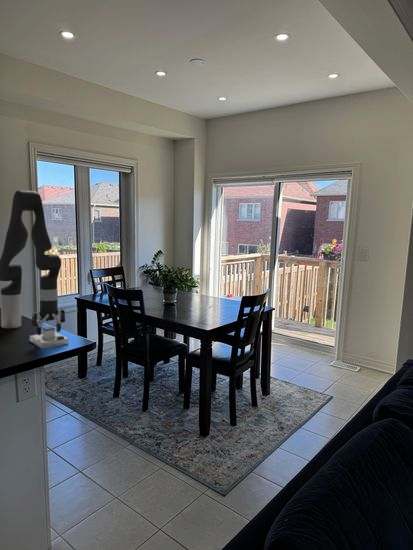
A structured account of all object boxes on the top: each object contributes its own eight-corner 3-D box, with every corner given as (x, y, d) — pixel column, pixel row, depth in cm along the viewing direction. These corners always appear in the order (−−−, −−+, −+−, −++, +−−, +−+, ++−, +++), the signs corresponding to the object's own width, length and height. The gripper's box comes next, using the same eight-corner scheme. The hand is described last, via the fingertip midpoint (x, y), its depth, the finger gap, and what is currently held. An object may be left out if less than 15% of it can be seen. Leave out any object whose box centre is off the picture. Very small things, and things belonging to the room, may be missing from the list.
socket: (29, 341, 175) (29, 334, 175) (55, 336, 183) (55, 330, 183) (41, 348, 165) (41, 341, 165) (68, 343, 173) (68, 337, 173)
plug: (42, 342, 174) (42, 327, 173) (51, 340, 177) (51, 326, 176) (46, 344, 171) (46, 329, 170) (54, 342, 174) (54, 328, 173)
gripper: (60, 295, 179) (60, 329, 181) (29, 298, 169) (29, 334, 171) (67, 298, 174) (67, 332, 176) (35, 301, 164) (36, 337, 166)
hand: (48, 333), depth 174 cm, fingers open, 8 cm apart
